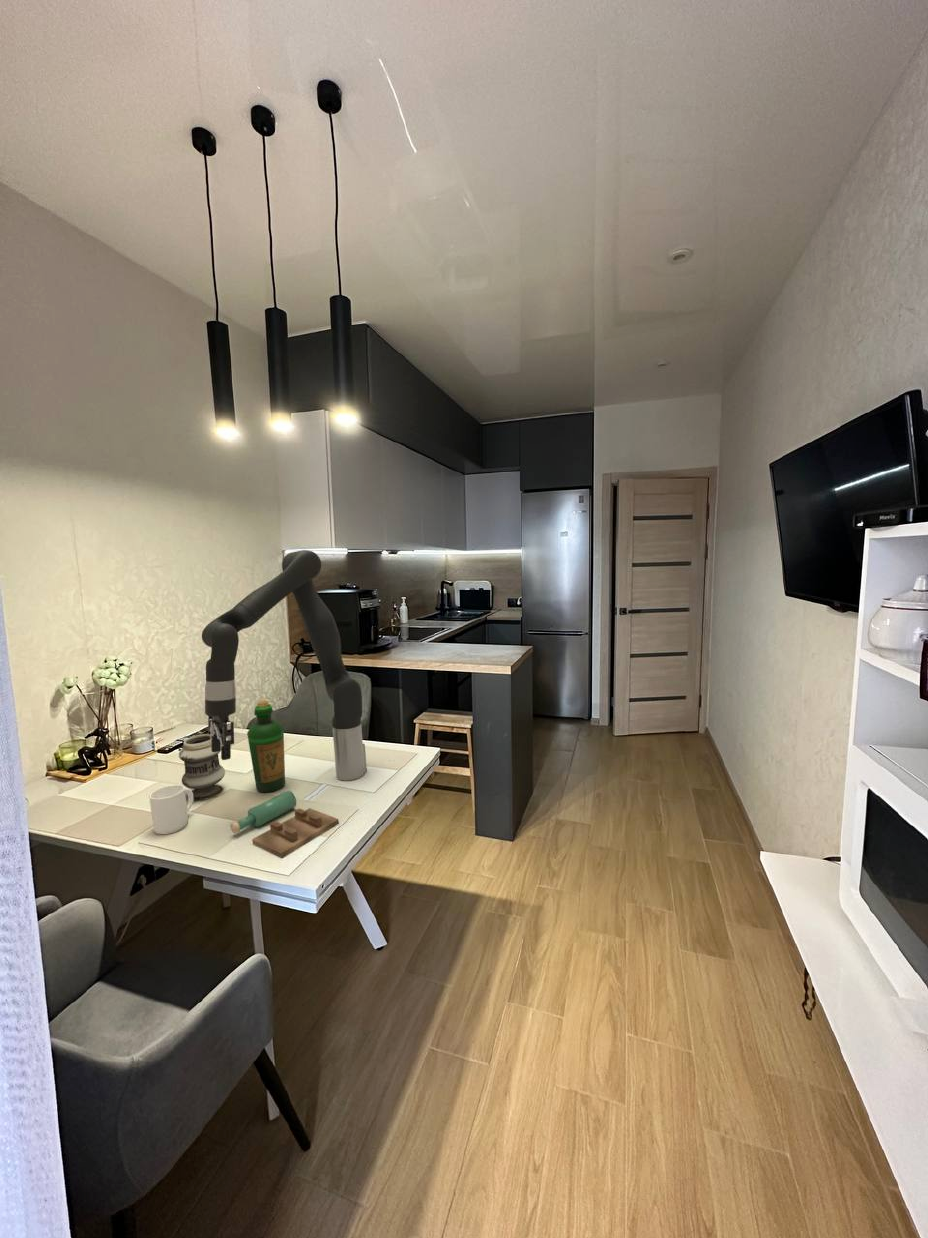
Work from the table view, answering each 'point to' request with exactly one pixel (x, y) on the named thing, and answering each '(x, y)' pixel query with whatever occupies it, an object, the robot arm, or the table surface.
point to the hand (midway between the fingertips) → (220, 755)
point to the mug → (170, 808)
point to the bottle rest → (294, 831)
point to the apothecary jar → (201, 767)
